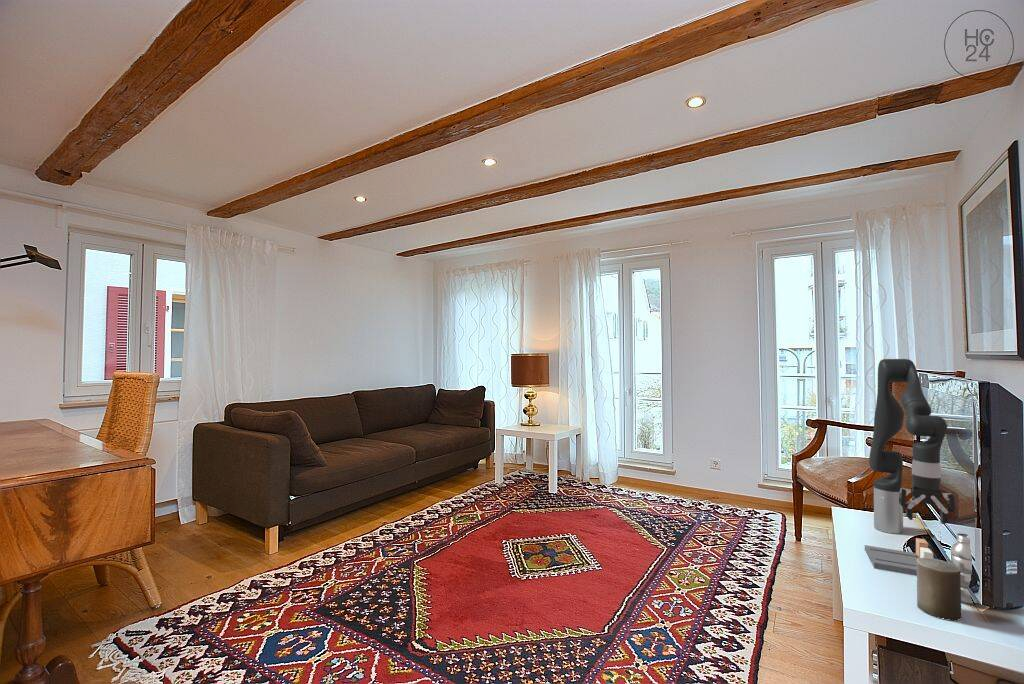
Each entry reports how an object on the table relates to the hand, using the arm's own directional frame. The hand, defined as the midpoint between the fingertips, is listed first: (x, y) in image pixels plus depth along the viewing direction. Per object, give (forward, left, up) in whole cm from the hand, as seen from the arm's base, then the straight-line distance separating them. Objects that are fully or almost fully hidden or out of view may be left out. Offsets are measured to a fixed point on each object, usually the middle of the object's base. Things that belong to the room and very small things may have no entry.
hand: (926, 521), depth 160 cm
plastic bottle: (+9, +15, -18) cm, 25 cm away
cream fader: (0, 0, -15) cm, 15 cm away
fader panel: (+1, -7, -18) cm, 19 cm away
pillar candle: (+23, +16, -18) cm, 33 cm away
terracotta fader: (-7, -5, -15) cm, 18 cm away
